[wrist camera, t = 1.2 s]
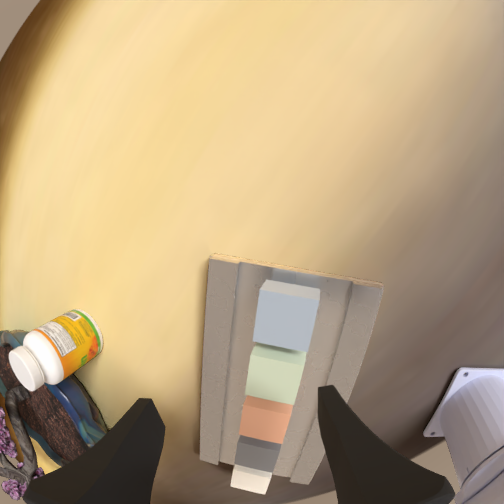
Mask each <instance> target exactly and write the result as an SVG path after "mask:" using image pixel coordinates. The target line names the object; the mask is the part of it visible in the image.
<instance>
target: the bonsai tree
mask: <svg viewBox="0 0 504 504" xmlns="http://www.w3.org/2000/svg"><path fill="white" fill-rule="evenodd" d="M27 334H28V332H26V331H23V330H13V331H11V332H9V331H8V330H6V331H0V393H1V394H2V395H3V396H4V398H5V407H6V410H7V413H8V416H9V418H10V421H11V424H12V426H13V429H14V431H15V434H16V436H17V439H18V441H19V444H20V447H21V450H22V452H23V455H24V461H23V462H24V463H22V462H20V463H18V465H17V467H18V468H16V467H15V466H14V465H13V464H12V463H11V462H9V460H8V459H7V458H6V456H5V455H9V456H10V457H11V458H15V457H16V456H17V450H16V448H15V447H16V444H15V443H14V441H13V440H11V436H10V433H9V429H8V428H7V426H6V425H5V422H6V421H5V419H4V418H3V417H5V411H4V409H3V408H2V407H0V461H1V463H2V465H3V466H4V468H2V467H0V476H3V477H6V478H10V479H9V480H8V481H3V483H2V488H3V490H4V492H6V493H7V494H9V495H10V497H11V498H12V499H15V500H18V499H20V497H23V495H24V493H25V491H26V489H27V486H28V484H29V482H30V480H31V479H35V478H37V477H40V476H43V475H45V474H44V471H43V469H42V468H41V467H39V468H38V465H37V457H36V453H35V450H34V447H33V445H32V442H31V439H30V437H32V438H33V439H34V440H36V441H37V442H38V443H39V445H40V446H41V447H42V449H43V450H44V451H45V453H46V454H47V455H48V456H49V457H50V458H51V459H52V460H53V461H54V462H56V463H57V464H58V465H60V466H61V467H63V466H65V465H66V464H68V463H70V462H71V461H73V460H74V459H76V458H78V457H79V456H81V455H82V454H83V453H85V452H86V451H87V450H89V449H90V448H91V447H92V446H94V445H95V444H96V443H97V442H98V441H99V440H100V439H101V438H102V437H103V436H104V435H106V434H107V433H108V431H107V428H106V426H105V424H104V422H103V419H102V417H101V415H100V412H99V410H98V409H97V407H96V406H95V404H94V403H93V401H92V400H91V398H90V397H89V395H88V393H87V392H86V390H85V389H84V387H83V386H82V384H81V383H80V382H79V381H78V379H77V378H76V377H75V376H74V375H73V374H71V375H69V376H68V377H67V378H65V379H64V380H63V381H61V382H60V383H58V384H55V385H51V384H47V383H45V382H44V384H43V385H42V386H41V387H39V388H38V389H36V390H35V391H29V390H28V389H27V388H25V387H24V386H23V385H22V384H21V382H20V381H19V380H18V378H17V377H16V375H15V373H14V371H13V369H12V367H11V365H10V361H9V353H10V351H12V350H14V349H15V348H17V347H19V346H23V341H24V338H25V336H26V335H27ZM29 436H30V437H29ZM12 479H19V480H12Z"/></svg>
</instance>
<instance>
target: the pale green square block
mask: <svg viewBox="0 0 504 504" xmlns="http://www.w3.org/2000/svg"><path fill="white" fill-rule="evenodd" d="M305 359H306V352H304V351H298V350H293V349H288V348H283V347H278V346H273V345H268V344H263V343H259V342H256V344H255V347H254V349H253V351H252V353H251V355H250V362H249V369H248V376H247V383H246V389H245V395H249V396H253V397H257V398H262V399H266V400H271V401H276V402H281V403H286V404H291V405H294V403H295V399H296V396H297V392H298V388H299V385H300V381H301V377H302V373H303V369H304V365H305Z"/></svg>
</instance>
